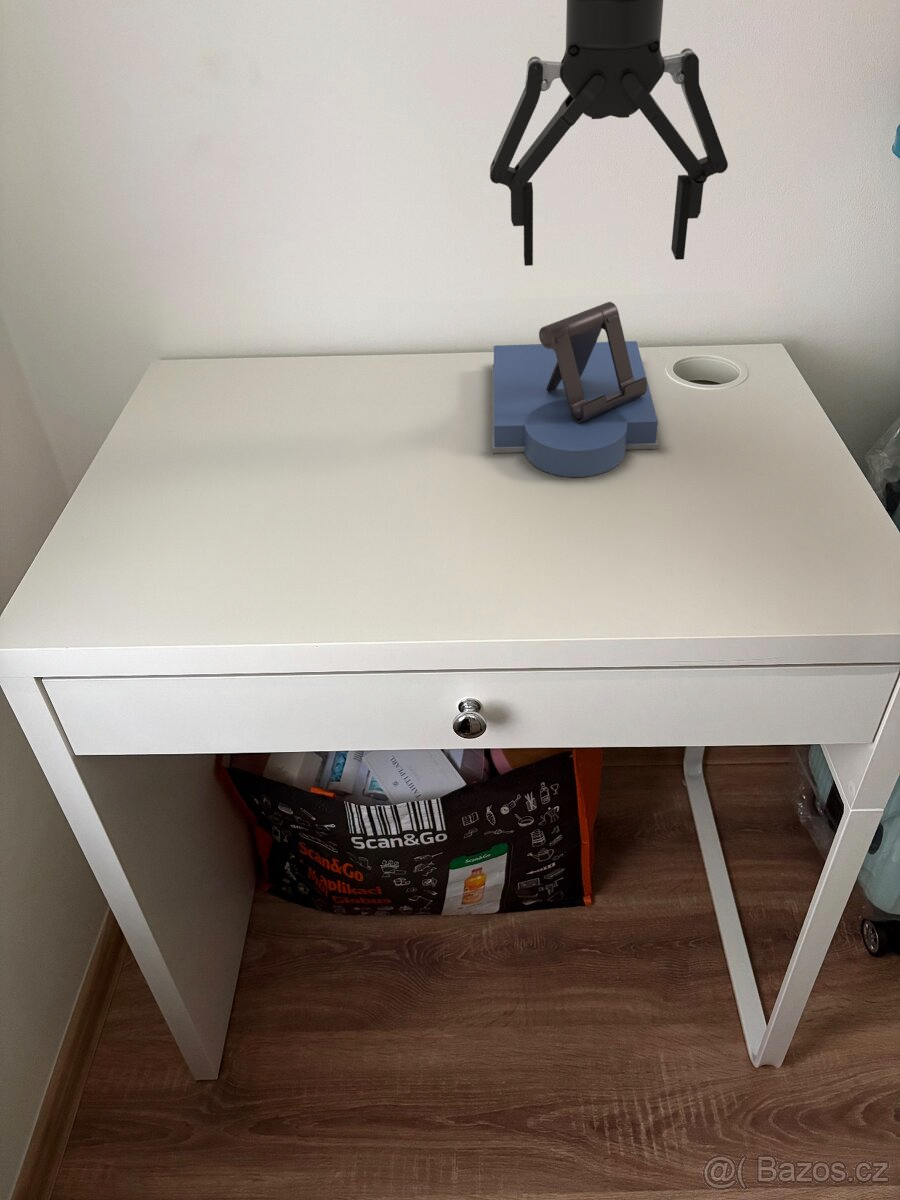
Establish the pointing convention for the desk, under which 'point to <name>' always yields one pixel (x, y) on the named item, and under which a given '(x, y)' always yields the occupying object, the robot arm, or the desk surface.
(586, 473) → the blue square with disc
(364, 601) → the desk surface
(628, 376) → the tablet stand
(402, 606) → the desk surface
